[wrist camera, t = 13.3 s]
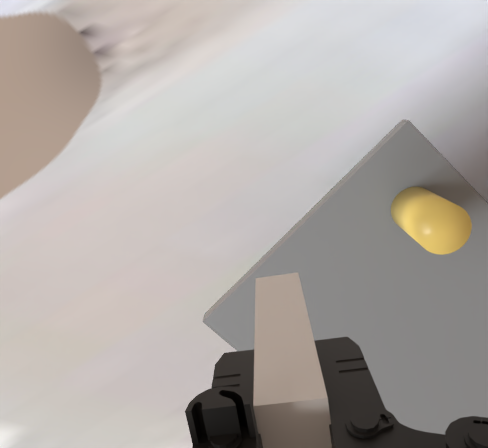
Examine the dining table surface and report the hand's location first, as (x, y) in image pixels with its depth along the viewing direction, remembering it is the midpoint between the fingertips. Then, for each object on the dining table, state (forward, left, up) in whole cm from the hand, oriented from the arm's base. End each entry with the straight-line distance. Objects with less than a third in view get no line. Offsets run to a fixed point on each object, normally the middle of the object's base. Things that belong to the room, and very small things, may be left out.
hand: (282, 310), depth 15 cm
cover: (0, +11, -10) cm, 15 cm away
